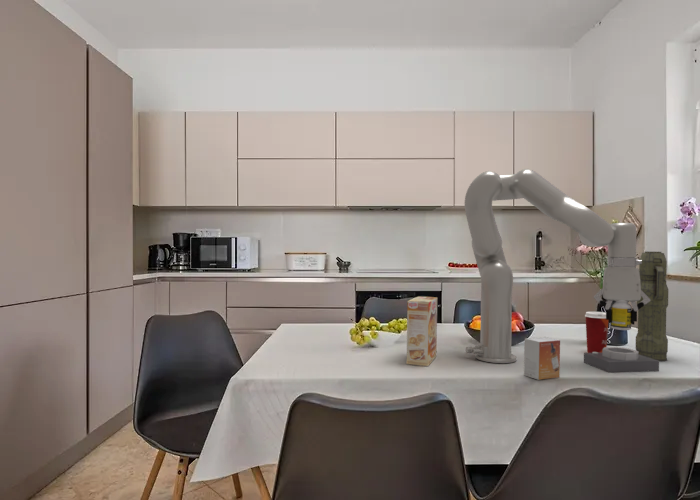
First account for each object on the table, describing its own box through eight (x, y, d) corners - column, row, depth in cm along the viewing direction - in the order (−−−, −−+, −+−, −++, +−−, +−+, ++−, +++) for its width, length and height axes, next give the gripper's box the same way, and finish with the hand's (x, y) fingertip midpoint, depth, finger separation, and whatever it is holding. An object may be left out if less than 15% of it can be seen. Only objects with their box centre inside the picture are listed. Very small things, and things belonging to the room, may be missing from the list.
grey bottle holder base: (609, 372, 141) (609, 355, 141) (583, 362, 153) (583, 346, 153) (658, 371, 143) (659, 354, 143) (630, 361, 155) (630, 345, 155)
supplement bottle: (630, 331, 144) (630, 298, 144) (609, 329, 147) (609, 296, 147) (632, 328, 148) (632, 296, 148) (612, 326, 151) (612, 295, 151)
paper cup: (612, 357, 161) (613, 314, 160) (587, 355, 162) (588, 313, 162) (605, 352, 168) (605, 311, 168) (581, 350, 170) (581, 310, 170)
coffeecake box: (428, 366, 145) (429, 301, 145) (405, 364, 148) (406, 300, 148) (437, 356, 159) (438, 296, 159) (416, 354, 162) (416, 295, 162)
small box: (538, 380, 132) (538, 341, 131) (523, 375, 137) (523, 338, 137) (560, 377, 135) (560, 339, 135) (544, 372, 140) (545, 336, 140)
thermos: (647, 362, 153) (649, 251, 153) (628, 354, 165) (629, 251, 165) (676, 363, 153) (678, 252, 153) (654, 354, 165) (656, 251, 165)
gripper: (653, 263, 147) (653, 323, 147) (590, 262, 155) (589, 319, 155) (656, 264, 140) (655, 327, 140) (590, 263, 148) (589, 322, 148)
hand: (621, 322), depth 148 cm, fingers closed on supplement bottle, 5 cm apart
